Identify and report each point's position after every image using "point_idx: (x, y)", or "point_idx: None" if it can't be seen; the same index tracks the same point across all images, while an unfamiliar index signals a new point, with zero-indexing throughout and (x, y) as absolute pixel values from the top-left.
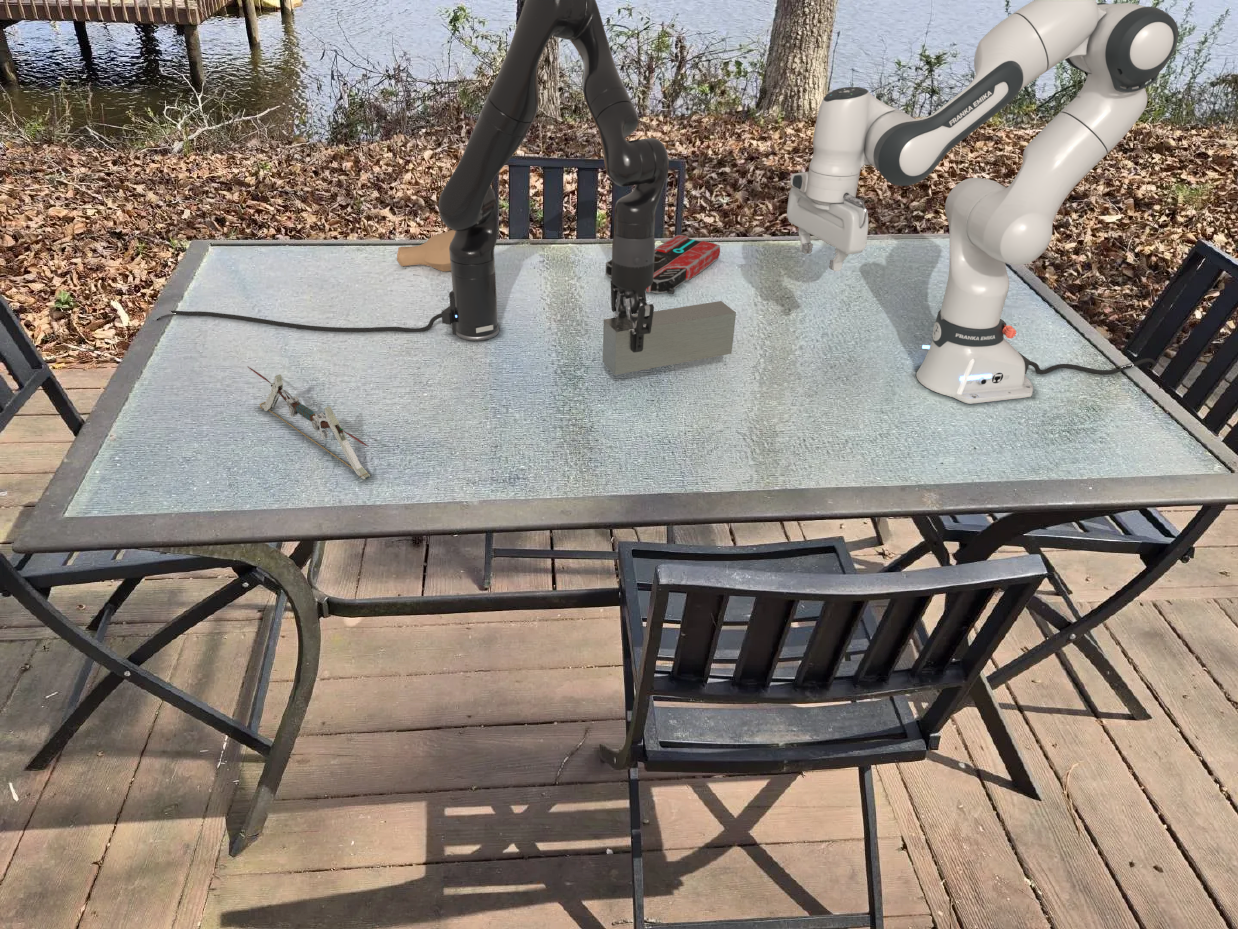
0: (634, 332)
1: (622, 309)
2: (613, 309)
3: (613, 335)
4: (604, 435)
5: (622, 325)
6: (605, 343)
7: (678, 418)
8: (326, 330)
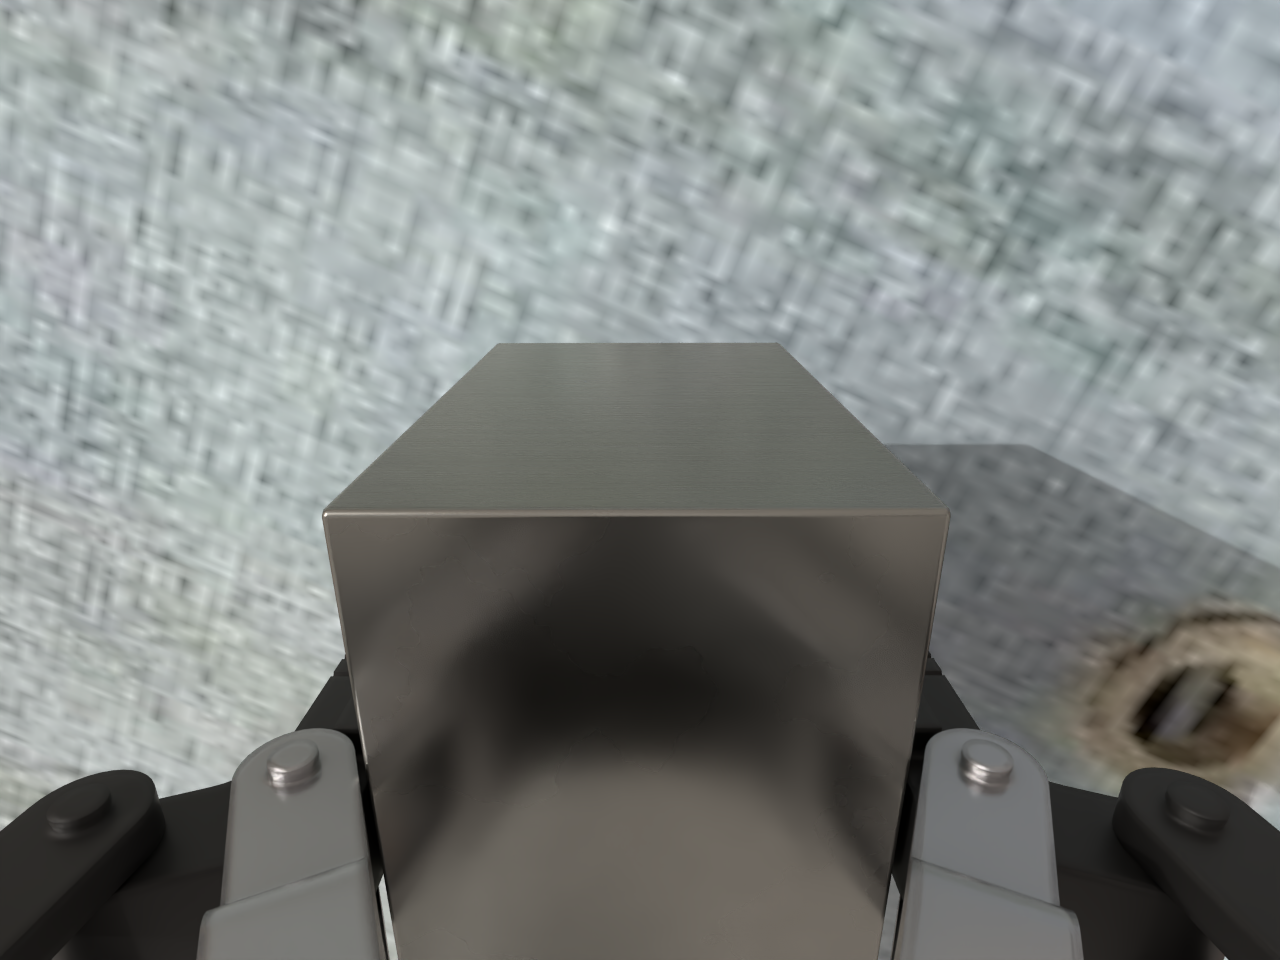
0: (242, 770)
1: (897, 955)
2: (1156, 808)
3: (469, 465)
4: (226, 95)
5: (562, 707)
6: (751, 392)
7: (327, 591)
8: None
